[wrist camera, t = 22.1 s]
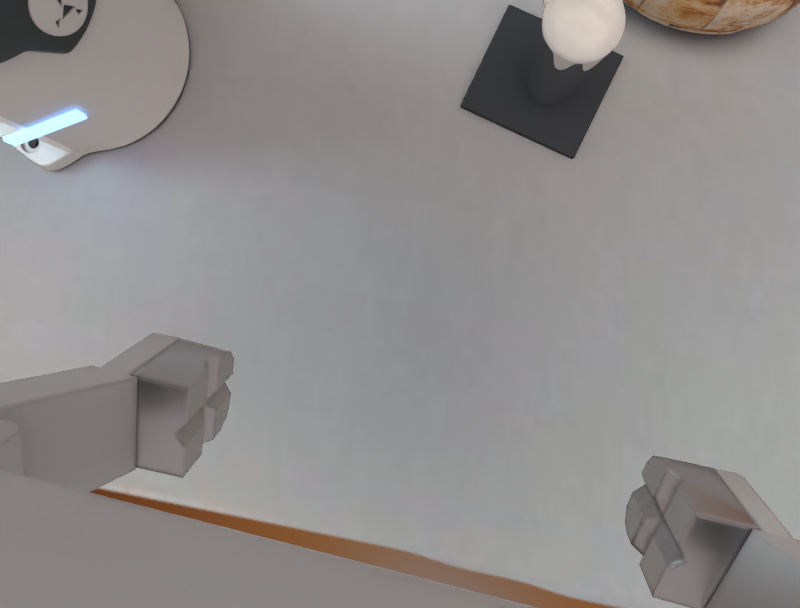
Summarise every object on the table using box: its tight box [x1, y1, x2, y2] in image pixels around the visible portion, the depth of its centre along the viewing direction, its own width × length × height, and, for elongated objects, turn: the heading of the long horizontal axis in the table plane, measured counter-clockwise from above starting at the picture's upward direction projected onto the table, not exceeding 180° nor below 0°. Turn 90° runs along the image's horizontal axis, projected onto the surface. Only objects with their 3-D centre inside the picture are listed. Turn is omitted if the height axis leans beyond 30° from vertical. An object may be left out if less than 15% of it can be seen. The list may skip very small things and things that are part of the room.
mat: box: [461, 5, 623, 159], centre depth 36 cm, size 9×8×1 cm
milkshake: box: [526, 0, 626, 106], centre depth 31 cm, size 4×5×10 cm
